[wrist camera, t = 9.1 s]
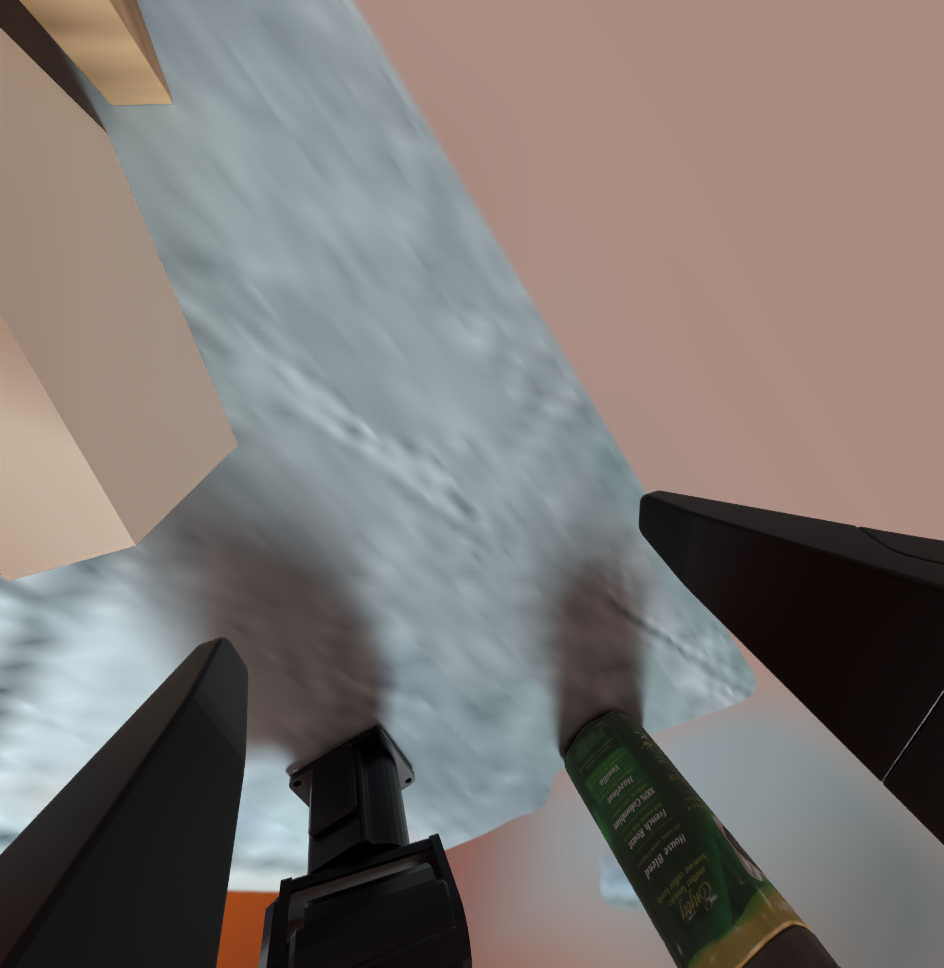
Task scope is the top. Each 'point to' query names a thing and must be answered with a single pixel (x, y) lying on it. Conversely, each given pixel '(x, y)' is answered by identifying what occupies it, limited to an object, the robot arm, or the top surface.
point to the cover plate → (86, 344)
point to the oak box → (106, 47)
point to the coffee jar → (684, 857)
